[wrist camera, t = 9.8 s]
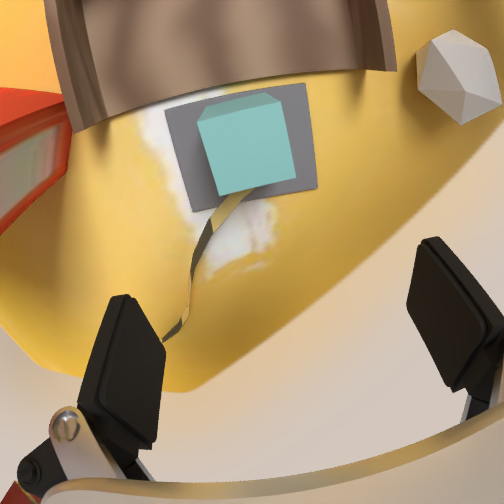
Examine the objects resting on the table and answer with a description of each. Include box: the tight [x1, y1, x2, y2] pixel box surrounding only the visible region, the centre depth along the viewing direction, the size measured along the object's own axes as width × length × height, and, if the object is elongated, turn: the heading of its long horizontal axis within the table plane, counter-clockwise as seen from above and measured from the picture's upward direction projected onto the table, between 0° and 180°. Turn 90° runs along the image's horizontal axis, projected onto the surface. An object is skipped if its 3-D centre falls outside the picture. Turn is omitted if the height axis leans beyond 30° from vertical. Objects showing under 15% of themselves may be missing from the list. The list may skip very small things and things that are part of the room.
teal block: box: [197, 92, 296, 196], centre depth 21 cm, size 5×5×8 cm
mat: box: [164, 83, 318, 212], centre depth 25 cm, size 12×10×1 cm
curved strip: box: [160, 187, 256, 343], centre depth 34 cm, size 6×39×4 cm, turn 139°
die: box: [416, 29, 503, 126], centre depth 18 cm, size 8×9×10 cm
